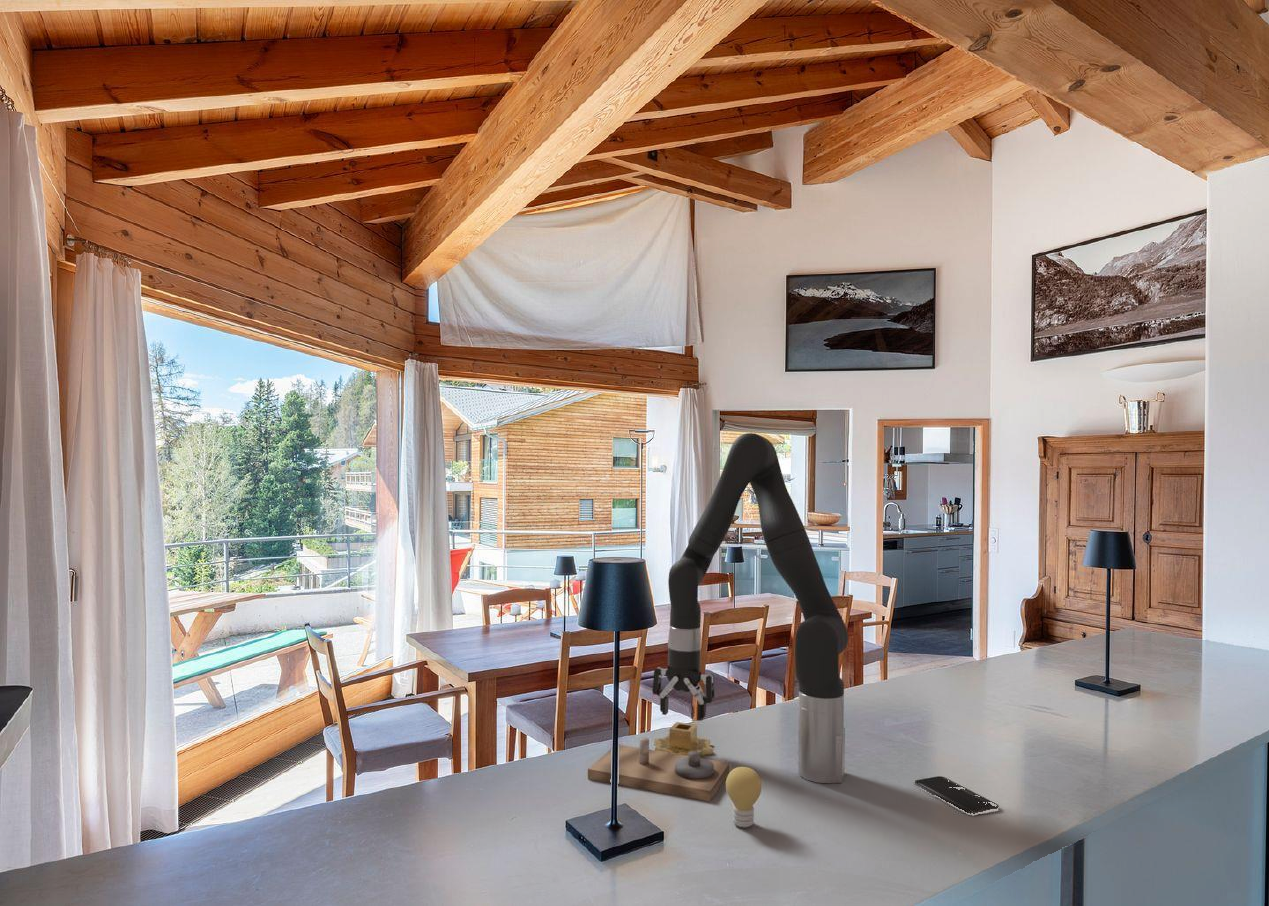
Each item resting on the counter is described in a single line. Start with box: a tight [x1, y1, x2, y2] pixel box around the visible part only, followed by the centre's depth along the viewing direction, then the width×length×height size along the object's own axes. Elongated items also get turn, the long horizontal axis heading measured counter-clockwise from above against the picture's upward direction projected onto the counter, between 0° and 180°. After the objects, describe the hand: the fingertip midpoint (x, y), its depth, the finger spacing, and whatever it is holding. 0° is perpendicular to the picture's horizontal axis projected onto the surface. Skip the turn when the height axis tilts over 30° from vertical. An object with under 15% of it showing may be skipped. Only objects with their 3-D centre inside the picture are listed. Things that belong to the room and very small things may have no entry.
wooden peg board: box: [587, 736, 731, 802], centre depth 152 cm, size 26×15×7 cm, turn 68°
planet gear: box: [653, 721, 714, 758], centre depth 167 cm, size 14×14×5 cm
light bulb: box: [725, 766, 762, 829], centre depth 131 cm, size 6×6×10 cm
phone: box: [914, 775, 1000, 814], centre depth 144 cm, size 8×1×15 cm
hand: (682, 716), depth 167 cm, fingers open, 8 cm apart
